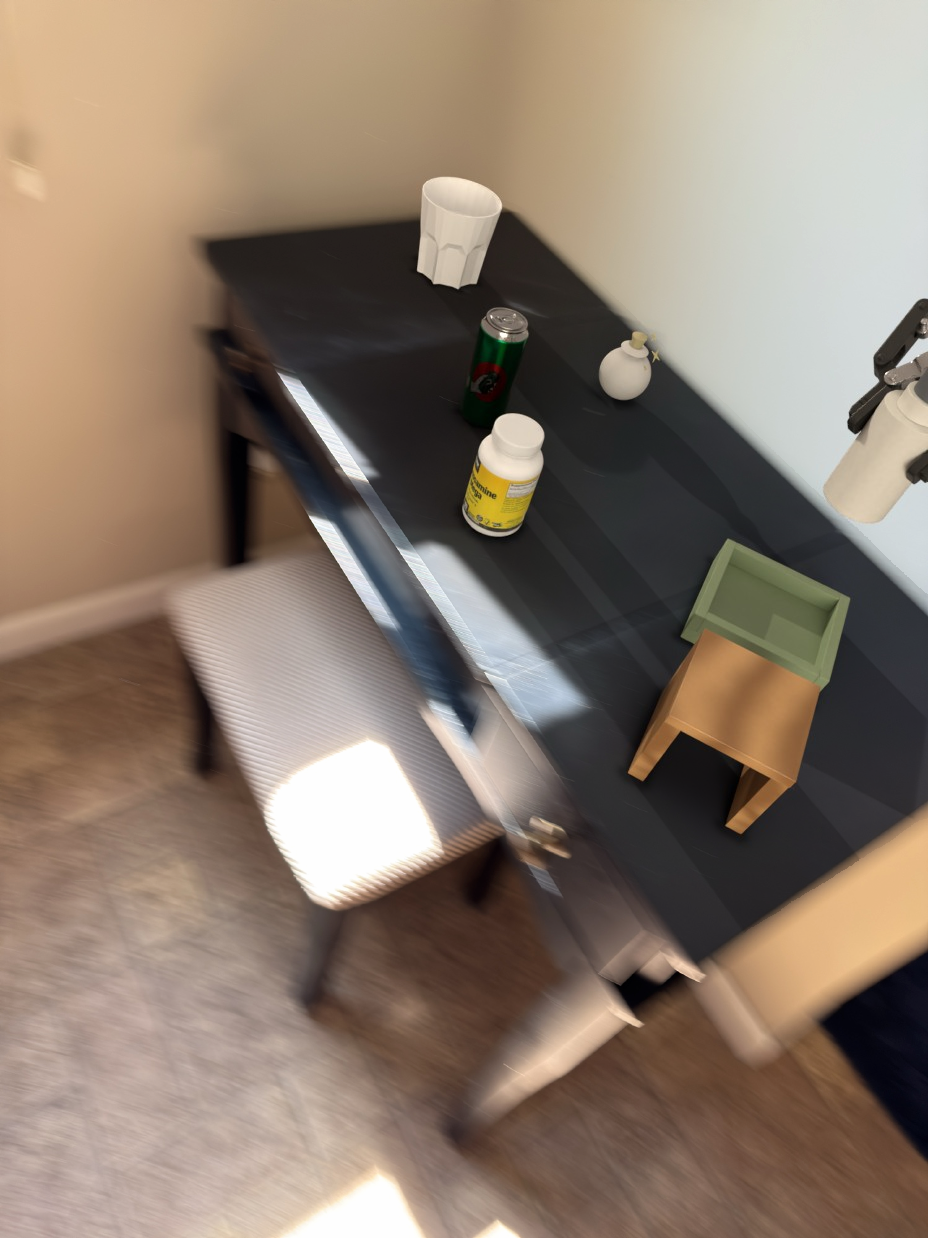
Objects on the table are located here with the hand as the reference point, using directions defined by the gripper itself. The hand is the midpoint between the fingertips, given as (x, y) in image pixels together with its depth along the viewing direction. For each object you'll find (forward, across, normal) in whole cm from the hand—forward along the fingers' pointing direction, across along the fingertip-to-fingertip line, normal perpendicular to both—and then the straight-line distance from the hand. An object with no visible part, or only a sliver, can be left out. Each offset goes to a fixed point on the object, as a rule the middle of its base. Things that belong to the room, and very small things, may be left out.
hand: (880, 451), depth 66 cm
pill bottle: (+27, -23, +6) cm, 36 cm away
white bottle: (+3, 0, +5) cm, 6 cm away
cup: (+12, -64, +20) cm, 68 cm away
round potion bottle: (+8, -34, +24) cm, 43 cm away
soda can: (+21, -37, +11) cm, 44 cm away
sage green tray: (+15, 0, +17) cm, 23 cm away
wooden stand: (+26, +8, +6) cm, 28 cm away
